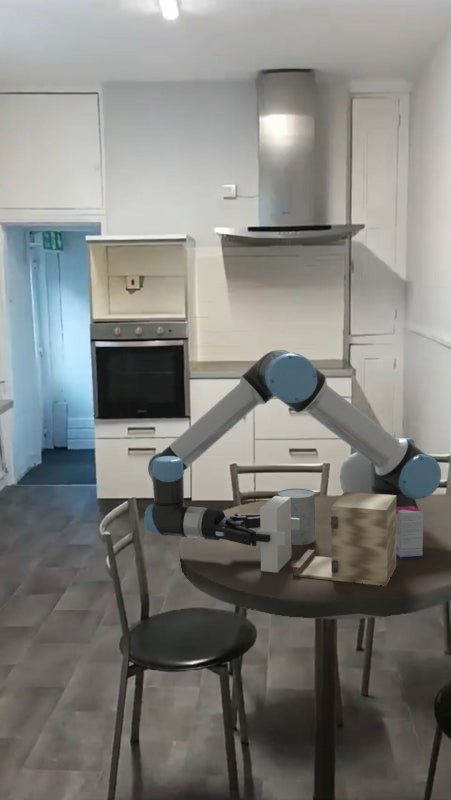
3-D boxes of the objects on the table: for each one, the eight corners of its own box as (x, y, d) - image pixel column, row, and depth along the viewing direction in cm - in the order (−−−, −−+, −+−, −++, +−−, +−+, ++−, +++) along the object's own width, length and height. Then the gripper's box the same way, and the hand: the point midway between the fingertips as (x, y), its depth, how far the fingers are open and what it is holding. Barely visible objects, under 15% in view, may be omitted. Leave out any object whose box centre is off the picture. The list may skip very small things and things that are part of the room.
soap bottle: (390, 500, 245) (390, 415, 241) (385, 508, 237) (385, 420, 233) (343, 497, 250) (342, 414, 246) (337, 505, 241) (336, 419, 238)
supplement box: (423, 557, 193) (424, 511, 191) (400, 559, 192) (400, 513, 191) (414, 550, 199) (414, 505, 197) (391, 552, 198) (391, 506, 196)
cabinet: (396, 566, 187) (396, 495, 185) (384, 588, 174) (385, 511, 172) (308, 557, 195) (307, 489, 193) (291, 577, 182) (290, 504, 179)
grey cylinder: (313, 545, 204) (313, 498, 202) (276, 544, 206) (275, 497, 204) (316, 534, 213) (316, 489, 212) (281, 533, 215) (280, 488, 214)
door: (291, 557, 196) (290, 497, 193) (277, 572, 185) (276, 509, 183) (270, 555, 197) (270, 495, 195) (256, 570, 187) (255, 507, 185)
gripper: (223, 525, 208) (306, 532, 200) (186, 553, 186) (277, 562, 178) (222, 496, 207) (305, 503, 199) (185, 521, 185) (276, 530, 177)
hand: (292, 531), depth 189 cm, fingers closed on door, 11 cm apart
